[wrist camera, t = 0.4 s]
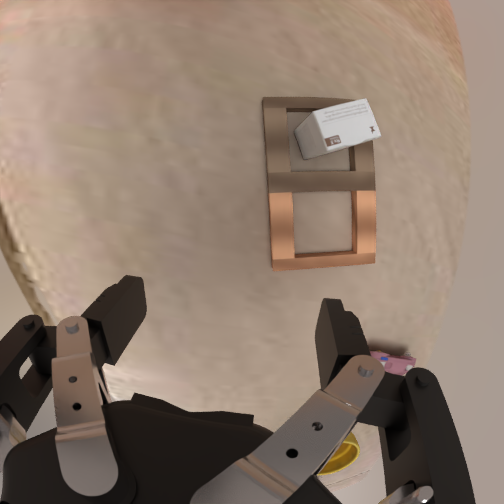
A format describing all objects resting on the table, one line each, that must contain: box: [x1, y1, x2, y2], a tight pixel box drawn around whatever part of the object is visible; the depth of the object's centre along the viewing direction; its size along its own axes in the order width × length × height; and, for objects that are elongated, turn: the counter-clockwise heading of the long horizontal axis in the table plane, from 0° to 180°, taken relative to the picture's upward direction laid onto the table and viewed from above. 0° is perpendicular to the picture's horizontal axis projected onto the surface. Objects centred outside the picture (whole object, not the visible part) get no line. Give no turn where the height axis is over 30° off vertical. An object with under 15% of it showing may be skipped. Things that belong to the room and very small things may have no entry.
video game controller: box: [370, 350, 416, 376], centre depth 39 cm, size 10×5×7 cm, turn 73°
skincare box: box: [294, 98, 381, 160], centre depth 29 cm, size 6×4×12 cm
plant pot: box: [318, 432, 360, 475], centre depth 40 cm, size 10×10×10 cm
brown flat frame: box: [262, 97, 376, 271], centre depth 35 cm, size 22×14×2 cm, turn 4°
